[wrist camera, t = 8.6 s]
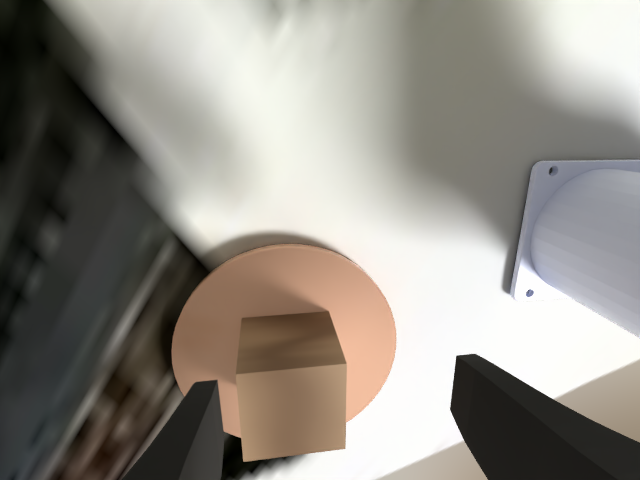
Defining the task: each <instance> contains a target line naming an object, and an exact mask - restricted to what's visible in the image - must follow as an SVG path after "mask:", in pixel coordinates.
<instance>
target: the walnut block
mask: <svg viewBox="0 0 640 480" xmlns="http://www.w3.org/2000/svg"><path fill="white" fill-rule="evenodd" d="M236 384H237V395H238V406H239V417H240V428H241V439H242V450H243V461H244V462H245V461H253V460H261V459H269V458H276V457H284V456H292V455H300V454H308V453H316V452H324V451H331V450H339V449H345V439H346V384H347V363H346V360H345V357H344V354H343V351H342V348H341V345H340V342H339V339H338V336H337V333H336V330H335V328H334V325H333V322H332V319H331V316H330V313H329V311H325V312H312V313H298V314H285V315H272V316H259V317H246V318H242V320H241V329H240V338H239V348H238V357H237V367H236Z"/></svg>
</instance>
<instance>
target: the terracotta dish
mask: <svg viewBox="0 0 640 480" xmlns="http://www.w3.org/2000/svg"><path fill="white" fill-rule="evenodd" d="M325 311H329V313H330V316H331V319H332V322H333V325H334V328H335V330H336V333H337V336H338V339H339V342H340V345H341V348H342V351H343V354H344V357H345V360H346V363H347V384H346V422H348V421H349V420H351V419H352V418H354V417H355V416H356V415H357V414H359V413H360V412H361V411H362V410H363V409H364V408H365V407H366V406H367V405H368V404H369V403H370V402H371V401H372V400H373V399H374V398H375V396H376V395H377V394H378V392H379V391H380V390H381V388H382V386H383V385H384V383H385V381H386V379H387V377H388V375H389V373H390V370H391V367H392V364H393V361H394V357H395V350H396V328H395V322H394V318H393V315H392V312H391V309H390V307H389V304H388V302H387V300H386V298H385V297H384V295H383V294H382V292H381V291H380V289H379V288H378V286H377V285H376V283H375V282H374V281H373V280H372V278H371V277H370V276H369V275H368V274H367V273H366V272H365V271H364V270H363V269H361V268H360V267H359V266H358V265H356V264H355V263H354V262H352V261H351V260H349V259H347V258H346V257H344V256H342V255H340V254H337V253H335V252H333V251H330V250H327V249H324V248H320V247H316V246H311V245H304V244H277V245H269V246H264V247H260V248H256V249H252V250H250V251H247V252H244V253H242V254H239V255H237V256H235V257H233V258H231V259H229V260H227V261H226V262H224V263H223V264H221V265H220V266H218V267H217V268H215V269H214V270H213V271H212V272H210V273H209V274H208V275H207V276H206V277H205V278H204V279H203V280H202V281H201V282H200V283H199V284H198V286H197V287H196V288H195V289H194V290H193V292H192V293H191V295H190V296H189V298H188V300H187V301H186V303H185V305H184V307H183V310H182V312H181V314H180V316H179V319H178V321H177V324H176V327H175V331H174V335H173V340H172V350H171V351H172V365H173V370H174V374H175V378H176V380H177V383H178V385H179V388H180V390H181V391H182V393H183V395H184V397H185V395H186V394H187V392H188V391H189V389H190V388H191V386H192V385H193V384H194V383H195V382H199V381H209V380H218V388H219V396H220V405H221V414H222V422H223V431H225V432H227V433H229V434H232V435H234V436H237V437H240V438H241V428H240V417H239V406H238V395H237V384H236V367H237V357H238V348H239V338H240V329H241V320H242V318H246V317H259V316H272V315H285V314H298V313H312V312H325Z"/></svg>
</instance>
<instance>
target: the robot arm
mask: <svg viewBox="0 0 640 480" xmlns="http://www.w3.org/2000/svg"><path fill="white" fill-rule="evenodd" d="M551 167H553V171H552V173H551V174H549V170H550V168H551ZM529 289H530V290H529ZM528 290H529V292H528V293H527V294H526V292H527V291H528ZM510 295H511V297H512V298H514V299H515V300H517V301H530V300H545V299H560V298H572V299H574V300H575V301H577V302H579V303H581V304H582V305H584V306H586V307H587V308H589V309H591V310H593V311H594V312H596V313H598V314H599V315H601V316H603V317H605V318H606V319H608V320H610V321H611V322H613V323H615V324H617V325H618V326H620V327H622V328H623V329H625V330H627V331H628V332H630V333H632V334H634V335H635V336H637V337H639V338H640V159H638V160H560V161H539V162H537V163H536V164H535V165H534V166H533V168H532V171H531V176H530V182H529V188H528V194H527V199H526V205H525V211H524V216H523V222H522V228H521V233H520V239H519V245H518V251H517V256H516V262H515V268H514V273H513V279H512V285H511V290H510ZM450 410H451V413H452V415H453V417H454V419H455V422H456V424H457V426H458V428H459V430H460V432H461V434H462V437H463V439H464V441H465V443H466V444H467V446H468V447H469V449H470V451H471V453H472V454H473V456H474V458H475V459H476V461H477V462H478V464H479V466H480V467H481V469H482V471H483V472H484V474H485V475H486V477H487V479H488V480H640V443H639V442H637V441H635V440H633V439H630V438H628V437H626V436H624V435H622V434H620V433H617V432H615V431H613V430H611V429H609V428H607V427H605V426H603V425H601V424H599V423H596V422H594V421H592V420H590V419H588V418H586V417H585V416H583V415H581V414H579V413H577V412H575V411H574V410H572V409H569V408H568V407H566V406H564V405H562V404H561V403H559V402H557V401H555V400H553V399H552V398H550V397H548V396H546V395H545V394H543V393H541V392H539V391H538V390H536V389H534V388H533V387H531V386H529V385H528V384H526V383H524V382H523V381H521V380H519V379H518V378H516V377H514V376H513V375H511V374H509V373H508V372H506V371H504V370H503V369H501V368H499V367H498V366H496V365H494V364H493V363H491V362H489V361H487V360H486V359H484V358H482V357H480V356H478V355H476V354H469V355H459V356H456V364H455V373H454V382H453V390H452V399H451V407H450ZM223 447H224V431H223V422H222V414H221V405H220V396H219V388H218V380H209V381H199V382H195V383H194V384H193V385H192V386H191V388H190V389H189V391H188V392H187V394H186V395H185V397H184V399H183V400H182V402H181V403H180V405H179V406H178V407H177V409H176V410H175V412H174V413H173V415H172V416H171V418H170V419H169V420H168V422H167V423H166V424H165V426H164V427H163V428H162V430H161V431H160V433H159V434H158V435H157V437H156V438H155V439H154V441H153V442H152V443H151V445H150V446H149V447H148V448H147V450H146V451H145V452H144V453H143V455H142V456H141V457H140V458H139V459H138V461H137V462H136V463H135V464H134V466H133V467H132V468H131V469H130V470H129V472H128V473H127V474H126V475H125V476H124V478H123V479H122V480H220V479H221V472H222V460H223Z"/></svg>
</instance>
